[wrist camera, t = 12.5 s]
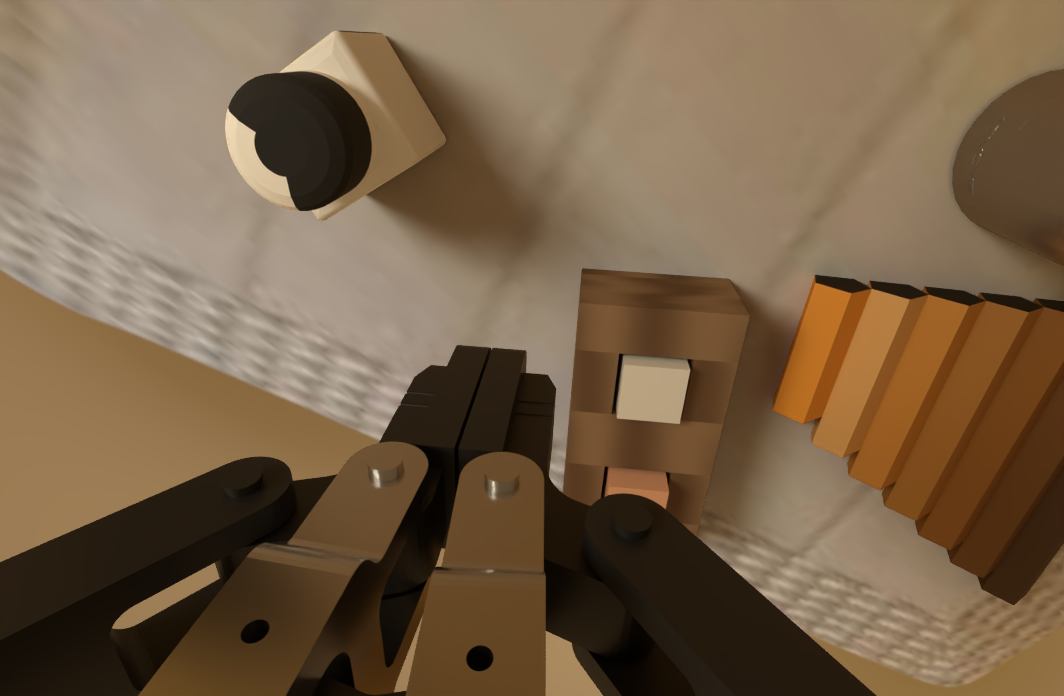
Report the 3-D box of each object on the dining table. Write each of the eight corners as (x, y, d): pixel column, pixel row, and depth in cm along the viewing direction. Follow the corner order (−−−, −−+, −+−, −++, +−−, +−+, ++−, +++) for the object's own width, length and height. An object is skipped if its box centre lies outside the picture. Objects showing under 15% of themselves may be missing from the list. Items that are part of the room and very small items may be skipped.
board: (729, 279, 39) (749, 315, 34) (680, 500, 48) (691, 556, 43) (581, 268, 39) (579, 302, 34) (563, 488, 49) (559, 542, 44)
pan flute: (1009, 574, 49) (1190, 312, 37) (1036, 608, 46) (1242, 335, 34) (718, 537, 50) (804, 271, 39) (726, 567, 47) (822, 290, 36)
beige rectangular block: (678, 330, 39) (690, 370, 35) (669, 379, 41) (679, 423, 36) (620, 325, 40) (624, 364, 35) (614, 375, 42) (616, 418, 37)
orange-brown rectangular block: (660, 441, 43) (669, 492, 38) (653, 482, 45) (660, 535, 40) (607, 437, 43) (609, 486, 38) (602, 477, 45) (603, 529, 40)
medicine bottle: (383, 30, 34) (287, 23, 23) (449, 141, 36) (390, 180, 26) (295, 94, 36) (171, 115, 25) (363, 195, 39) (276, 251, 28)
